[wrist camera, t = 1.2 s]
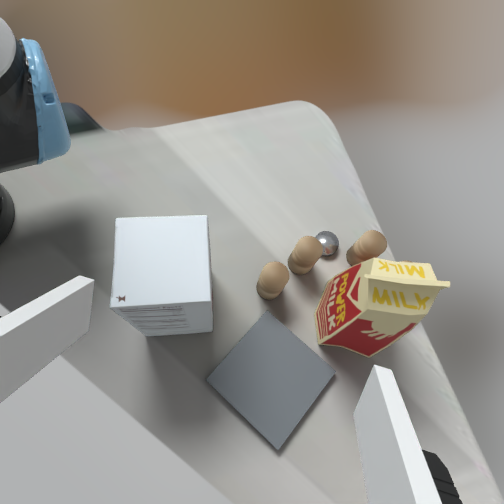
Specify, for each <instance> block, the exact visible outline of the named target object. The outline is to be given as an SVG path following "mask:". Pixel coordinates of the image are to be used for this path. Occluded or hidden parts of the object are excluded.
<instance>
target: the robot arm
mask: <svg viewBox="0 0 504 504" xmlns="http://www.w3.org/2000/svg"><path fill="white" fill-rule="evenodd" d="M70 145H71V139H70V135H69V131H68V128H67V124H66V121H65V117H64V114H63V111H62V108H61V104H60V101H59V98H58V95H57V92H56V89H55V86H54V83H53V80H52V77H51V74H50V71H49V68H48V65H47V63H46V60H45V57H44V54H43V52H42V49H41V48H40V45H39V44H38V43H37V42H36V41H34V40H27V39H24V38H22V39H20V40H19V41H17V39H16V38H15V36H14V34H13V32H12V31H11V29H10V28H9V26H8V25H7V24H6V22H5V21H4V20H3V19H2V18H0V173H2V172H6V171H10V170H14V169H19V168H23V167H27V166H31V165H36V164H41V163H43V161H46V160H50V159H53V158H56V157H59V156H62V155H64V154H65V153H66V152H67V151H68V150H69V148H70ZM13 219H14V205H13V201H12V198H11V196H10V194H9V193H8V191H7V190H6V189H5V188H4V187H3V186H2V185H1V184H0V244H1V243H2V242H3V240H4V239H5V238H6V236H7V234H8V233H9V231H10V229H11V226H12V223H13ZM94 281H95V280H93V279H90V278H87V277H83V276H80V275H79V276H77V277H75V278H74V279H72V280H70V281H68V282H66V283H64V284H62V285H61V286H59V287H57V288H55V289H53V290H51V291H49V292H48V293H46V294H44V295H42V296H40V297H38V298H37V299H35V300H33V301H31V302H29V303H27V304H25V305H24V306H22V307H20V308H18V309H16V310H14V311H13V312H11V313H9V314H7V315H5V316H3V317H1V316H0V403H1V402H2V401H3V400H5V399H6V398H7V397H8V396H10V395H11V394H12V393H13V392H14V391H16V390H17V389H18V388H19V387H20V386H22V385H23V384H24V383H25V382H27V381H28V380H29V379H30V378H32V377H33V376H34V375H35V374H37V373H38V372H39V371H40V370H41V369H43V368H44V367H45V366H46V365H47V364H49V363H50V362H51V361H52V360H54V359H55V358H56V357H57V356H59V355H60V354H61V353H62V352H63V351H65V350H66V349H67V348H68V347H70V346H71V345H72V344H73V343H74V342H76V341H77V340H78V339H79V338H81V337H82V336H83V335H84V334H86V333H87V332H88V331H89V327H90V317H91V308H92V299H93V290H94ZM353 415H354V421H355V427H356V433H357V439H358V445H359V451H360V457H361V463H362V469H363V475H364V481H365V487H366V493H367V499H368V504H462V501H461V500H460V499H459V494H458V492H457V490H456V487H454V483H453V481H452V478H451V476H450V474H449V471H448V469H447V468H446V466H445V465H444V464H443V463H442V461H441V460H440V459H439V457H438V456H437V455H436V454H434V453H431V452H428V451H425V450H422V449H421V447H420V444H419V441H418V439H417V436H416V433H415V431H414V428H413V425H412V423H411V420H410V417H409V415H408V412H407V409H406V407H405V404H404V402H403V399H402V396H401V394H400V391H399V388H398V386H397V383H396V380H395V378H394V375H393V372H392V370H391V369H387V368H384V367H381V366H377V365H374V366H373V368H372V371H371V373H370V375H369V378H368V380H367V382H366V385H365V387H364V390H363V392H362V394H361V397H360V399H359V402H358V404H357V406H356V409H355V411H354V413H353Z"/></svg>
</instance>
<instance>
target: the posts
mask: <svg viewBox="0 0 504 504" xmlns="http://www.w3.org/2000/svg"><path fill="white" fill-rule="evenodd" d="M386 248H387V241H386V238H385V237H384V236H383V235H382V234H381V233H380V232H378V231H375V230H370V231H367V232H365V233H364V234H363V235H362V236H361V237H360V238H359V239H358V240H357V241H356V242H355V244H354V245H353V246H352V247H351V248H350V249H349V250H348V251H347V254H346V258H347V261H348V262H349V264H350V265H351V266H354V265H357V264H359V263H361V262H364V261H366V260H369V259H371V258H374V257H375V258H377V257H378V256H379V255H380V254H382V253H383V252H384V251H385V250H386ZM322 253H323V247H322V244H321V242H320V241H319V240H318V239H316V238H315V237H312V236H305V237H302V238H301V239H300V240H299V241H298V243H297V244H296V246H295V248H294V250H293V251H292V253H291V255H290V257H289V259H288V266H289V268H290V270H291V271H292V272H293V273H295V274H298V275H303V274H306V273H307V272H309V270H310V269H311V268H312V267H313V265H314V264H315V263H316V262H317V261H318V259H319V258H320V257H321V255H322ZM401 262H410V263H413V262H411V261H401ZM288 280H289V271H288V269H287V268H286V266H285V265H283V264H282V263H280V262H270V263H268V264H266V265H265V266H264V268H263V270H262V272H261V275H260V277H259V280H258V282H257V292H258V294H259V295H260V296H261V297H262V298H264V299H269V300H270V299H274V298H276V297H277V296H278V295H279V294H280V293H281V291H282V290H283V288H284V287H285V285H286V284H287V282H288Z"/></svg>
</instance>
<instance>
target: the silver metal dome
mask: <svg viewBox="0 0 504 504" xmlns="http://www.w3.org/2000/svg"><path fill="white" fill-rule="evenodd" d="M316 239H318V240H319V241H320V242H321V244H322V247H323V253H322V256H330V255H332V254H333V253H334V252H335V251H336V250H337V248H338V245H339V241H338V239H337V237H336V236H335V235H334V234H333V233H331V232H329V231H323V232H320V233H319V234H318V235H317V236H316Z"/></svg>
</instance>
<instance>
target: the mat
mask: <svg viewBox="0 0 504 504" xmlns="http://www.w3.org/2000/svg"><path fill="white" fill-rule="evenodd" d="M335 372H336V371H335V370H334V369H333V368H332V367H330V366H329V365H328V364H327V363H326V362H325V361H324V360H323V359H321V358H320V357H319V356H318V355H317V354H316V353H315V352H314V351H312V350H311V349H310V348H309V347H308V346H307V345H306V344H305V343H303V342H302V341H301V340H300V339H299V338H298V337H297V336H296V335H294V334H293V333H292V332H291V331H290V330H289V329H288V328H287V327H286V326H284V325H283V324H282V323H281V322H280V321H279V320H278V319H277V318H275V317H274V316H273V315H272V314H271V313H270V312H269V311H268V310H267V311H266V312H265V313H264V314H263V315H262V316H261V318H260V319H259V320H258V321H257V322H256V323H255V324H254V325H253V327H252V328H251V329H250V330H249V331H248V332H247V333H246V335H245V336H244V337H243V338H242V339H241V340H240V341H239V343H238V344H237V345H236V346H235V347H234V348H233V349H232V350H231V352H230V353H229V354H228V355H227V356H226V357H225V358H224V360H223V361H222V362H221V363H220V364H219V365H218V366H217V367H216V369H215V370H214V371H213V372H212V373H211V374H210V375H209V377H208V378H207V379H206V381H207V382H208V383H210V384H211V385H212V386H213V387H214V388H215V389H216V390H217V391H218V392H219V393H220V394H221V395H222V396H223V397H224V398H225V399H226V400H227V401H228V402H229V403H230V404H231V405H232V406H233V407H234V408H235V409H236V410H237V411H238V412H239V413H240V414H241V415H242V416H243V417H244V418H245V419H246V420H247V421H248V422H249V423H251V424H252V425H253V426H254V427H255V428H256V429H257V430H258V431H259V432H260V433H261V434H262V435H263V436H264V437H265V438H266V439H267V440H268V441H269V442H270V443H271V444H272V445H273V446H274V447H275V448H276V449H277V450H279V448H280V447H281V446H282V444H283V443H284V442H285V440H286V439H287V438H288V436H289V435H290V433H291V432H292V431H293V429H294V428H295V427H296V425H297V424H298V423H299V421H300V420H301V418H302V417H303V416H304V414H305V413H306V412H307V410H308V409H309V407H310V406H311V405H312V403H313V402H314V401H315V399H316V398H317V397H318V395H319V394H320V392H321V391H322V390H323V388H324V387H325V386H326V384H327V383H328V382H329V380H330V379H331V377H332V376H333V375H334V373H335Z"/></svg>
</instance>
